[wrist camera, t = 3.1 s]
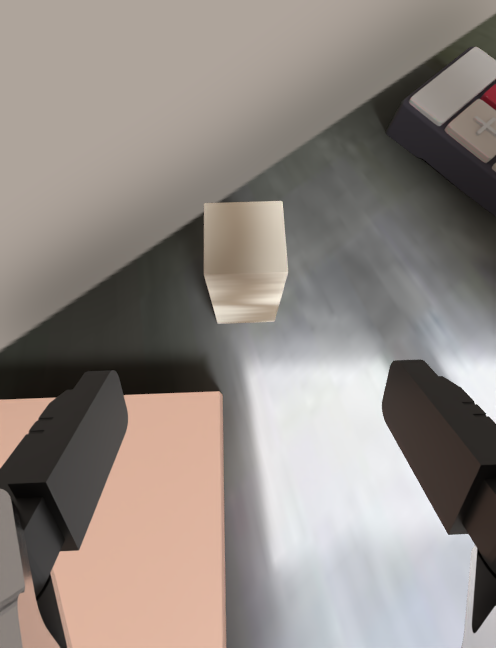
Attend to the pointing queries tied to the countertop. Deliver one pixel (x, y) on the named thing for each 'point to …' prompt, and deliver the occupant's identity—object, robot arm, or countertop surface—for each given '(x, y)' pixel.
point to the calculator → (455, 124)
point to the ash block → (245, 259)
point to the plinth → (147, 528)
